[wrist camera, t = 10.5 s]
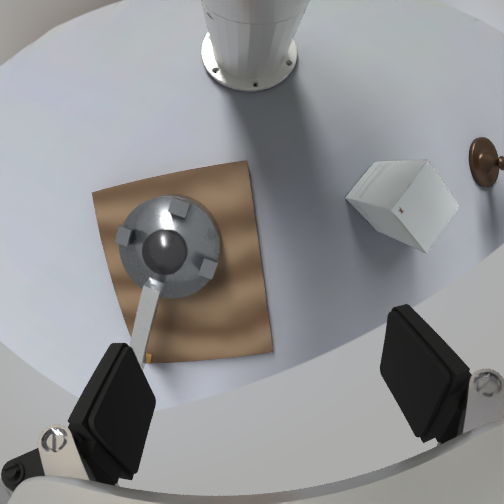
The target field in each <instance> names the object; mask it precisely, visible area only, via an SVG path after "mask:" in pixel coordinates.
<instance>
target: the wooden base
mask: <svg viewBox="0 0 504 504" xmlns="http://www.w3.org/2000/svg"><path fill="white" fill-rule="evenodd" d="M169 194H179V195H185V196H188V197H191V198H193V199H195V200H197V201H199V202H200V203H201V204H203V205H204V206H205V207H206V208H207V209H208V210H209V211H210V212H211V214H212V215H213V216H214V218H215V220H216V222H217V224H218V227H219V230H220V235H221V249H220V255H219V259H218V265H217V267H216V270H215V273H214V275H213V278H212V279H210V280H209V281H208V282H207V284H206V285H205V286H203V287H202V288H201V289H200V290H198V291H197V292H195V293H193V294H191V295H189V296H186V297H182V298H174V299H169V298H162V297H161V299H160V303H159V306H158V310H157V314H156V317H155V321H154V325H153V329H152V332H151V336H150V340H149V344H148V348H147V353H146V358H147V362H146V363H169V362H186V361H199V360H210V359H221V358H230V357H239V356H247V355H254V354H262V353H269V352H273V347H272V339H271V332H270V324H269V317H268V309H267V302H266V294H265V287H264V279H263V272H262V264H261V257H260V250H259V242H258V235H257V228H256V221H255V214H254V206H253V199H252V192H251V185H250V178H249V171H248V164H247V160H246V161H239V162H233V163H226V164H220V165H214V166H208V167H202V168H196V169H191V170H186V171H181V172H175V173H171V174H166V175H161V176H156V177H152V178H147V179H143V180H139V181H135V182H130V183H126V184H122V185H118V186H114V187H111V188H107V189H103V190H100V191H96V192H92V196H93V202H94V207H95V213H96V218H97V222H98V227H99V232H100V236H101V241H102V245H103V249H104V253H105V257H106V261H107V264H108V268H109V272H110V275H111V279H112V282H113V286H114V289H115V292H116V295H117V299H118V302H119V305H120V308H121V311H122V314H123V317H124V320H125V323H126V325H127V328H128V331H129V334H130V336H131V337H132V332H133V328H134V323H135V318H136V314H137V310H138V305H139V301H140V297H141V293H142V289H141V288H140V287H139V286H138V285H137V284H136V283H135V282H134V281H133V280H132V279H131V278H130V277H129V275H128V274H127V272H126V270H125V268H124V266H123V264H122V261H121V258H120V253H119V243H116V242H115V240H116V236H117V232H118V228H119V225H122V224H123V223H124V221H125V220H126V218H127V217H128V215H129V214H130V213H131V212H132V210H133V209H135V208H136V207H137V206H138V205H140V204H141V203H143V202H145V201H147V200H150V199H153V198H156V197H160V196H163V195H169Z"/></svg>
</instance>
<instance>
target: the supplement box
mask: <svg viewBox="0 0 504 504" xmlns="http://www.w3.org/2000/svg"><path fill="white" fill-rule="evenodd" d="M345 198H346V199H347V200H348V201H349V202H350V203H351V204H352V205H353V206H354V207H355V208H356V210H357V211H358V212H359V213H360V214H361V215H362V216H363V217H364V218H365V219H366V220H367V221H368V222H369V223H370V224H371V225H372V226H373V227H374V229H375V230H376V231H378V232H380V233H383V234H385V235H387V236H389V237H392V238H394V239H396V240H398V241H400V242H402V243H404V244H407V245H409V246H411V247H413V248H415V249H417V250H420V251H422V252H424V253H426V254H427V253H428V252H429V251H430V249H431V248H432V246H433V245H434V244H435V242H436V241H437V240H438V238H439V237H440V235H441V234H442V233H443V231H444V230H445V228H446V227H447V225H448V224H449V222H450V221H451V219H452V218H453V216H454V215H455V213H456V212H457V210H458V209H459V205H458V204H457V202H456V200H455V199H454V197H453V196H452V194H451V193H450V191H449V189H448V188H447V186H446V185H445V184H444V182H443V181H442V179H441V177H440V176H439V174H438V173H437V171H436V170H435V169H434V167H433V166H432V164H431V163H430V161H429V160H399V161H380V162H374V163H373V164H372V165H371V167H370V168H369V169H368V170H367V172H366V173H365V174H364V175H363V176H362V178H361V179H360V180H359V181H358V183H357V184H356V185H355V186H354V187H353V189H352V190H351V191H350V192H349V194H348V195H347V196H346V197H345Z"/></svg>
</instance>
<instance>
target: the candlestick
mask: <svg viewBox="0 0 504 504" xmlns="http://www.w3.org/2000/svg"><path fill="white" fill-rule="evenodd" d="M469 165H470V170H471V173H472V175H473V177H474V179H475V181H476V182H477V183H478V184H479V185H481V186H484V187H490V186H492V185H493V184H494V183H495V182H496V180H497V178H498V174H499V168H500V169H501V170H504V157H503V156H500V157H499V159H498V154H497V151H496V149H495V147H494V145H493V144H492V142H491V141H490V140H489V139H487V138H484V137H479V138H476V139H475V140H474V141H473V142H472V144H471V146H470V150H469Z"/></svg>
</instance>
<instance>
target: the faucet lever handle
mask: <svg viewBox="0 0 504 504" xmlns="http://www.w3.org/2000/svg"><path fill="white" fill-rule="evenodd" d="M115 242H116V243H119V253H120V258H121V261H122V264H123V266H124V268H125V270H126V272H127V274H128V275H129V277H130V278H131V279H132V280H133V281H134V282H135V283H136V284H137V285H138V286H139V287H140V288H141V289H142V293H141V297H140V301H139V305H138V310H137V314H136V318H135V323H134V328H133V332H132V337H131V342H130V347H132V348H133V350H134V353H135V355H136V357H137V359H138V362H139V364H140V366H141V369H142V371H143V368H144V366H145V364H146V362H147V358H146V353H147V348H148V344H149V340H150V336H151V332H152V329H153V325H154V321H155V317H156V314H157V310H158V306H159V303H160V299H161V297H162V298H169V299H174V298H182V297H186V296H189V295H191V294H193V293H195V292H197V291H198V290H200V289H201V288H202V287H203V286H205V285H206V284H207V282H208V281H209V280H210V279H212V278H213V275H214V273H215V270H216V267H217V265H218V259H219V255H220V249H221V235H220V230H219V227H218V224H217V222H216V220H215V218H214V216H213V215H212V214H211V212H210V211H209V210H208V209H207V208H206V207H205V206H204V205H203V204H201V203H200V202H199V201H197V200H195V199H193V198H191V197H188V196H185V195H179V194H169V195H163V196H160V197H156V198H153V199H150V200H147V201H145V202H143V203H141V204H140V205H138V206H137V207H136V208H135V209H133V210H132V212H131V213H130V214H129V215H128V217H127V218H126V220H125V221H124V223H123V224H122V225H119V228H118V232H117V236H116V240H115Z"/></svg>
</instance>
